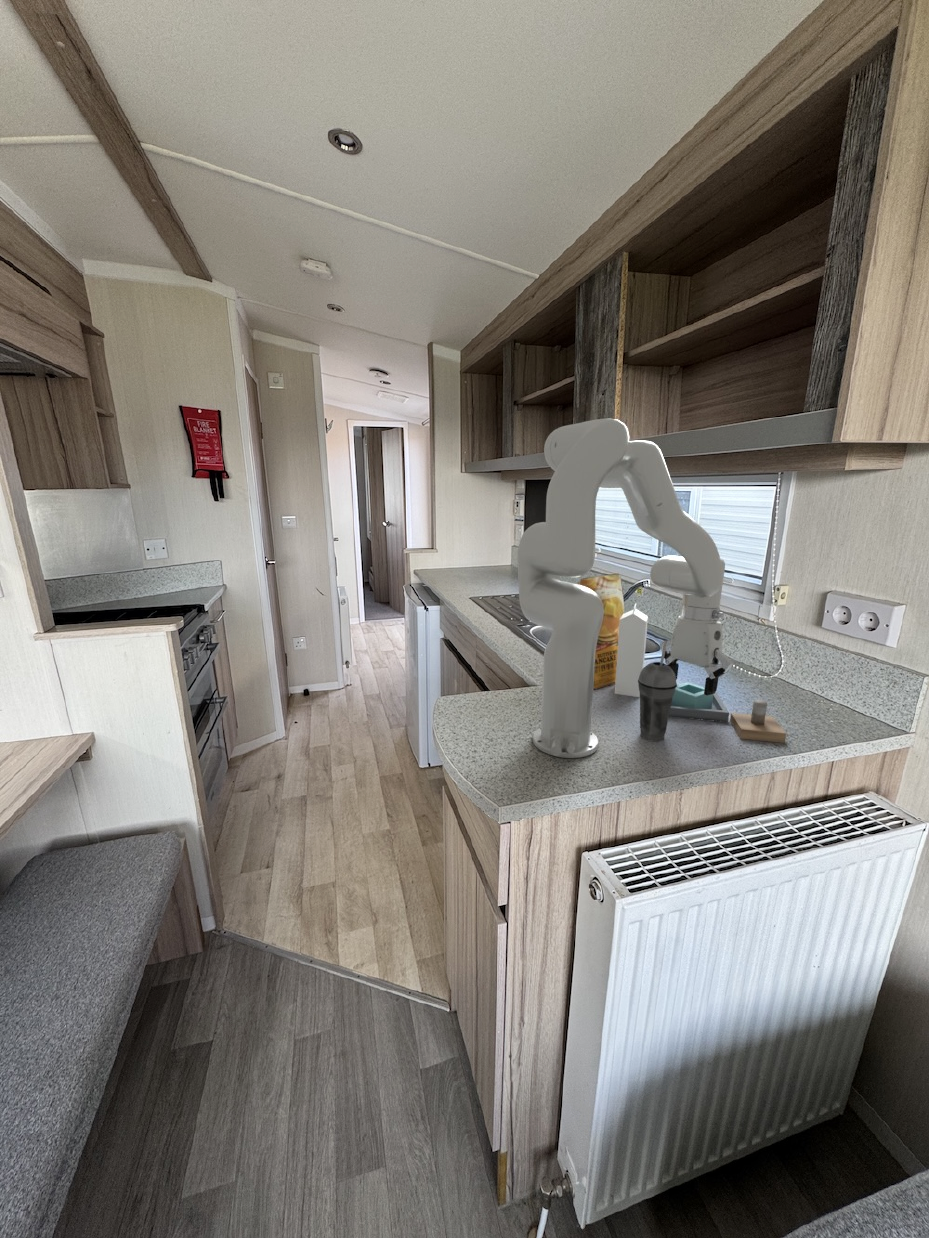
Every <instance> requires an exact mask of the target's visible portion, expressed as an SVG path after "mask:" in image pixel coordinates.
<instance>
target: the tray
mask: <svg viewBox="0 0 929 1238" xmlns="http://www.w3.org/2000/svg"><path fill="white" fill-rule="evenodd" d="M729 715H730V711H729V710H728V709H727V707H726V706H725V704H724V703H723V700H722V699H721V697H720V696H719V694H718V693H717V691H716V692H715V693H714V694H713V701H712V707H711V708H708V709H700V708H689V707H677V706H673V705H671V708H670V713H669V718H677V719H678V718H679V719H687V720H697V719H700V720H699V721H708V720H714V721H713V722H719V721H722V722H721V723H729V719H730V718H729ZM701 719H703V720H701Z"/></svg>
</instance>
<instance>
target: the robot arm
mask: <svg viewBox="0 0 929 1238" xmlns="http://www.w3.org/2000/svg"><path fill="white" fill-rule="evenodd" d="M543 447H544V449H543V451H544V452H543V455H544V458H545V462H546V464H547V465H548V466H549V467H550V468H551V470H553V471H554V472H553V475H552V477H551V479H550V482H549V484H548V488H547V492H546V499H545V500H546V501H545V502H546V504H545V521H542V522H536V523H534V524H532V525H530V526H529V527H528V528H527V529H525V530H524V532H523V534H522V535H521V537H520V540H519V542H518V543H519V544H518V547H517V576H518V577H517V578H518V581H517V582H518V594H519V595H518V599H519V605H520V609H521V612H522V614H523V616H524V617H525V619H527V620H528V622H530V623H532V624H534V625H537V626H540V627H541V628H545V629H548V630H550V631H551V632H552V633H551V636H550V639H549V640H548V642H547V644H546V645H545V649H544V653H543V664H542V691H541V692H542V694H541V695H542V696H541V697H542V699H541V720H540V721H541V722H540V723H541V724H540V725H541V726H540V727H538V728H537V729H536V730H534V732H533V735H532V743H533V745H534V746H535V747H536V748H537V749H538V750H540V751H541V752H543V753H545V754H548V755H549V756H550V755H551V756H553V757H558V758H564V759H577V758H583V757H588V756H590V755H592V754H593V753H595V752H596V751H597V749H598V748H599V739H598V737H597V735H596V734H595V733H594V732H592V715H593V702H594V701H593V699H594V689H593V686H594V667H595V653H596V645H597V640H598V635H599V631H600V628H601V624H602V620H603V615H604V608H603V603H602V601H601V599H600V597H599V596H598V595H597V594H596V593H595V592H594V591H593V590H591V589H589V588H587V587H585V586H582V585H578V583H574V582H573V583H572V582H569V581H563V580H560V579H561V578H560V577H563V578H574V579H575V578H580V577H583V576H586V575H587V574H588V573H589V572H590V571H591V570H592V568H593V566H594V564H595V563H594V562H595V558H596V508H597V506H596V505H597V498H598V493H599V489H600V488H601V489H602V488H603V489H621V490H622V491H623V494H624V496H625V498H626V501H627V503H628V505H629V508H630V510H631V514H632V516H633V518H634V521H635V524H636V526H637V528H638V529H639V530H640V531H642V532H644V533H645V534H647V535H648V536H650V537H651V538H654V539H655V540H657V541H659V542H661V543H663V544H665V545H667V546H669V547H670V548H671V549H673V550H675V552H677V553H678V554H679V555H680V556H679V555H666V556H661V557H660V558H658V559H657V560H655V562H654V563H653V564H652V566H651V569H650V574H649V575H650V580H651V582H652V584H654V586H655V587H657V588H659V589H661V590H662V591H663V590H664V591H667V592H670V593H671V592H672V593H677V594H682V600H681V608H680V614H679V616H678V617H677V618H676V622H675V624H674V627H673V631H672V637H671V639H669V640H666V641H667V645H666V650H665V656H664V660H665V661H664V664H666V665H668V666H669V667H670V668H671V669H672V670H673V671H674V673H675V676H676V681H677V679H678V675H679V668H680V667H679V661H681V662H684V663H686V664H691V665H693V666H697V667H700V668H703V669H704V671H706V673H707V675H708V676H707V677H706V678H705V683H704V688H705V689H704V694H705V695H707V696H708V695H711V694H714V693H715V692H716V693H717V690H718V684H719V678H721V677H722V676H723V675H724V674H726V673H728V672H729V671H728V670H730V669H731V667H732V666H733V664H734V662H733V661H732V659H730V658H729V657H728V656H727V655H726V654H725V653H723V636H724V635H723V626H722V625H723V624H722V622H721V621H719V619H721V620H722V619H723V618H724V617H725V613H724V612H721V611H720V610H721V608H720V607H721V600H722V599H721V598H722V591H723V585H724V584H723V583H724V579H725V578H724V577H725V570H726V563H725V561H724V559H722V558H721V557H720V554H719V551H718V547H717V545H716V543H715V541H714V540H713V539H714V538H712V537H711V535H710V534H709V533H708V532H707V530H705V529H704V528H703V527H702V526H701V524H699V523H698V522H697V521H696V520H695V519H694V518H693V517H692V516H691V515H690V514H688V513H687V512H686V511H685V510H683V509H682V507H681V504H680V502H679V498H678V496H677V492H676V491H675V487H674V483H673V481H672V479H671V475H670V473H669V470H668V467H667V464H666V461H665V458H664V456H663V453H662V450H661V448H659V446H658V445H657V444H656V443H654V442H653V441H649V440H630V434H629V429H628V427H627V426H626V424H625V423H624V422H622V421H621V420H619V419H616V418H599V419H593V420H592V419H591V420H586V421H582V422H578V423H573V424H568V425H563V426H560V427H557V428H556V429H554V430H553V431H552V432H550V433H549V435H548V436H547V438H546V440H545V442H544V446H543ZM659 646H660V650H661V652H662V651H663V646H664V641H662V642H660V643H659ZM669 647H670V648H669ZM720 664H721V665H720ZM719 665H720V667H719Z"/></svg>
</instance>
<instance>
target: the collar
mask: <svg viewBox="0 0 929 1238" xmlns="http://www.w3.org/2000/svg"><path fill="white" fill-rule="evenodd" d="M704 689H705V686H704V687H703V686H702V685H698V684H695V683H691V682H689V681H686V682H682V683H679V684H677V687H676V688H675V693H674V696H673V698H672V703H671V705H673V706H677V707H689V708H700V709H708V708H711V707H712V701H713V694H711V695H708V696H707V695H705V694H704Z"/></svg>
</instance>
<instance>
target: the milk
mask: <svg viewBox="0 0 929 1238" xmlns="http://www.w3.org/2000/svg"><path fill="white" fill-rule="evenodd" d="M648 620H649V616H648V615H647V614H645V613H644V612H642V611H640V610H639V609H637V603H635V604H634V605H633V608H632V609H631V610H629V611H627V612H625V614H623V615H622V617H621V618H620V624H619V638H618V652H617V666H616V680H615V683H614V684H615V685H614V694H615V695H620V696H627V697H635V698H640V691H639V686H638V684H639V683H638V679H639V676H640V673H641V671H642V669H643V668H644V667H645V658H646V645H647V633H648Z"/></svg>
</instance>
